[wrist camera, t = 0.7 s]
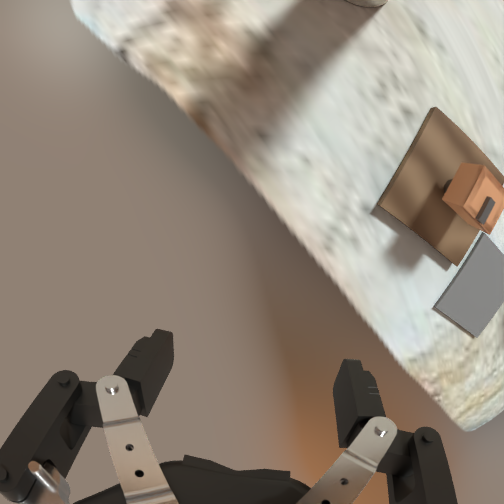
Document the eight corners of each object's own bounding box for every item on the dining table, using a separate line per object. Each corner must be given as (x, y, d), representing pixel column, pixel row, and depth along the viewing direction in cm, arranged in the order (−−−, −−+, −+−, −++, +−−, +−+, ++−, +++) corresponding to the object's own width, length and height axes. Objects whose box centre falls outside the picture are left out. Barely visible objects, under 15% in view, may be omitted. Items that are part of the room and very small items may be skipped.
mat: (482, 232, 34) (484, 233, 34) (518, 273, 35) (520, 275, 35) (434, 305, 39) (435, 307, 38) (475, 336, 40) (477, 337, 39)
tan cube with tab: (461, 162, 28) (488, 165, 22) (486, 189, 28) (513, 196, 23) (441, 199, 29) (466, 208, 24) (468, 224, 30) (493, 236, 24)
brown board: (431, 107, 30) (465, 99, 22) (500, 177, 31) (537, 186, 23) (376, 203, 35) (402, 218, 27) (452, 263, 37) (483, 287, 28)
